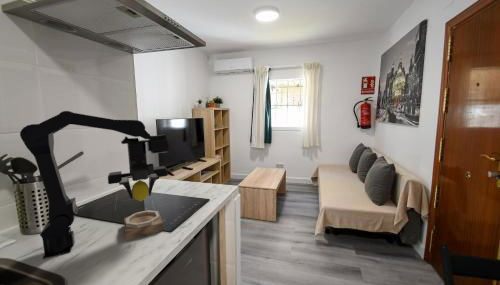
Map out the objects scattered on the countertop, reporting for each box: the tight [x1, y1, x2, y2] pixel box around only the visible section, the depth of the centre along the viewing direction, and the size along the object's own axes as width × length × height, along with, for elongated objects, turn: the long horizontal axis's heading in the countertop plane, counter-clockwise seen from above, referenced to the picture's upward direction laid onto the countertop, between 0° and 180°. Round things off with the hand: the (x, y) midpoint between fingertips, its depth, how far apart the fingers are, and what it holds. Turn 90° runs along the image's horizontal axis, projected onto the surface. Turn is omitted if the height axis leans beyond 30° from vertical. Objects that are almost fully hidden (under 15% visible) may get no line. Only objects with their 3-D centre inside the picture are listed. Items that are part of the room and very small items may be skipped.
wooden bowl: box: [123, 210, 164, 241], centre depth 81 cm, size 12×12×4 cm
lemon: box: [131, 180, 149, 202], centre depth 79 cm, size 6×6×8 cm
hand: (140, 197), depth 79 cm, fingers closed on lemon, 5 cm apart
